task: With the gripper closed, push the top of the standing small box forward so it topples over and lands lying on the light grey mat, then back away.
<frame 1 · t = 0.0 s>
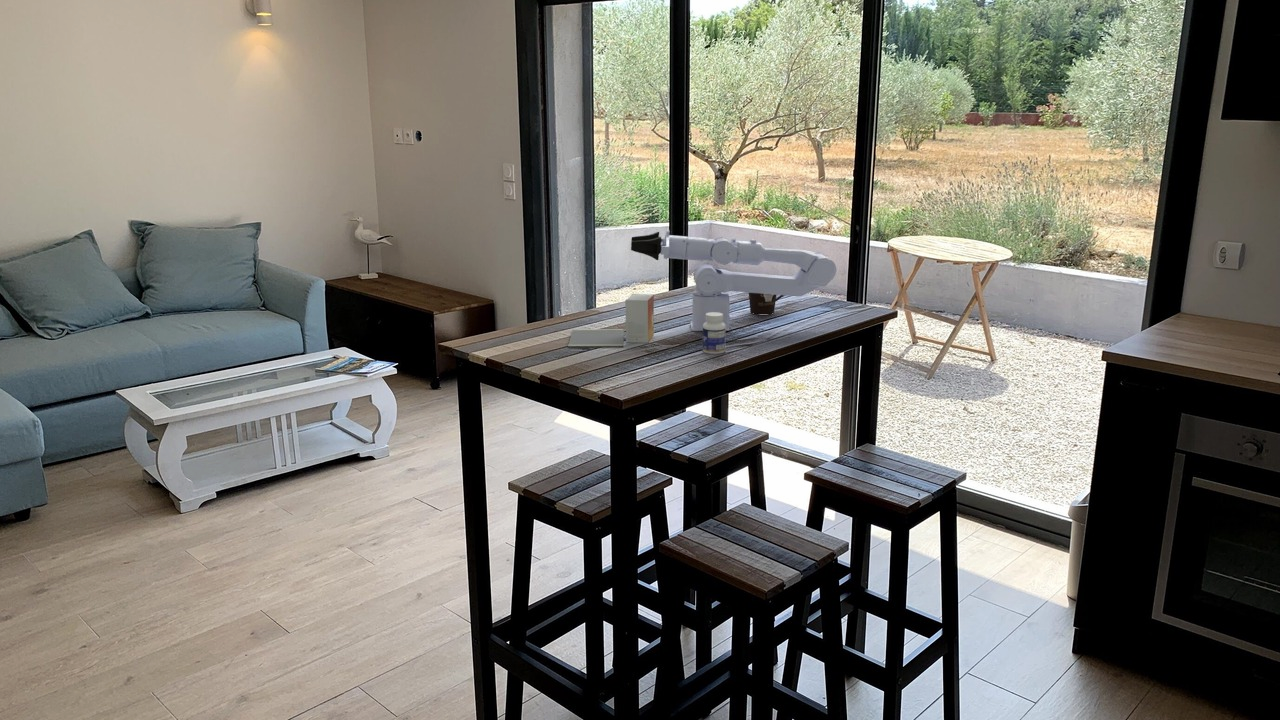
hand: (631, 243, 230), 22 cm above the table, tool horizontal, fingers open, 7 cm apart
pill bottle: (713, 352, 214), on the table
small box: (640, 339, 225), on the table
coffee mug: (767, 313, 252), on the table
mat: (597, 339, 225), on the table
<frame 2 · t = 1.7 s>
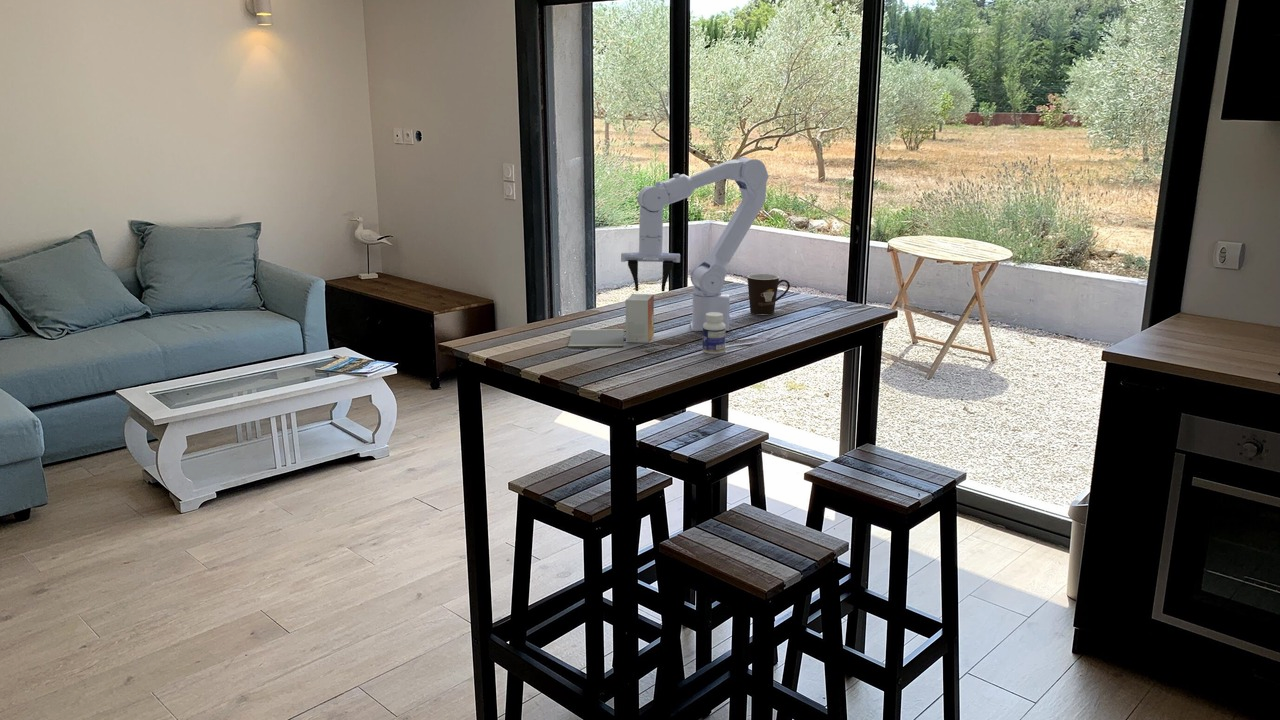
hand: (649, 290, 230), 10 cm above the table, tool pointing down, fingers open, 6 cm apart
nothing on the table moved.
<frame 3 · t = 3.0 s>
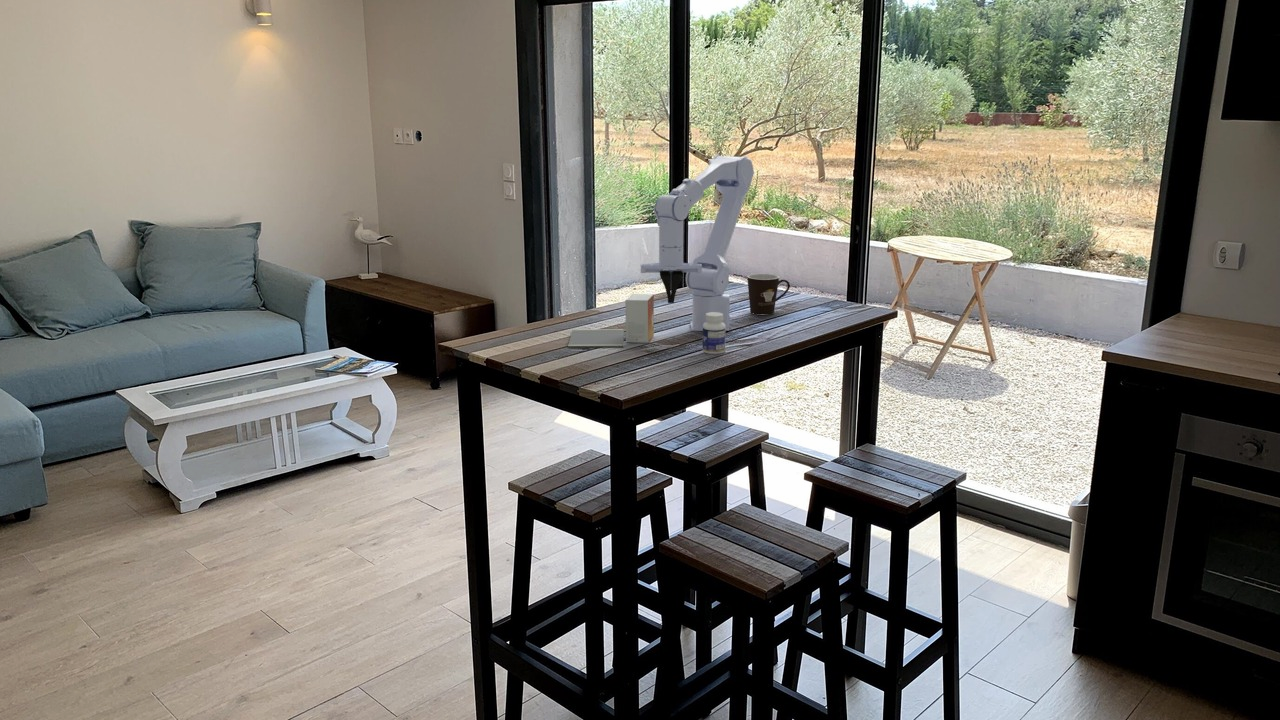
hand: (670, 302, 223), 9 cm above the table, tool pointing down, fingers closed
nothing on the table moved.
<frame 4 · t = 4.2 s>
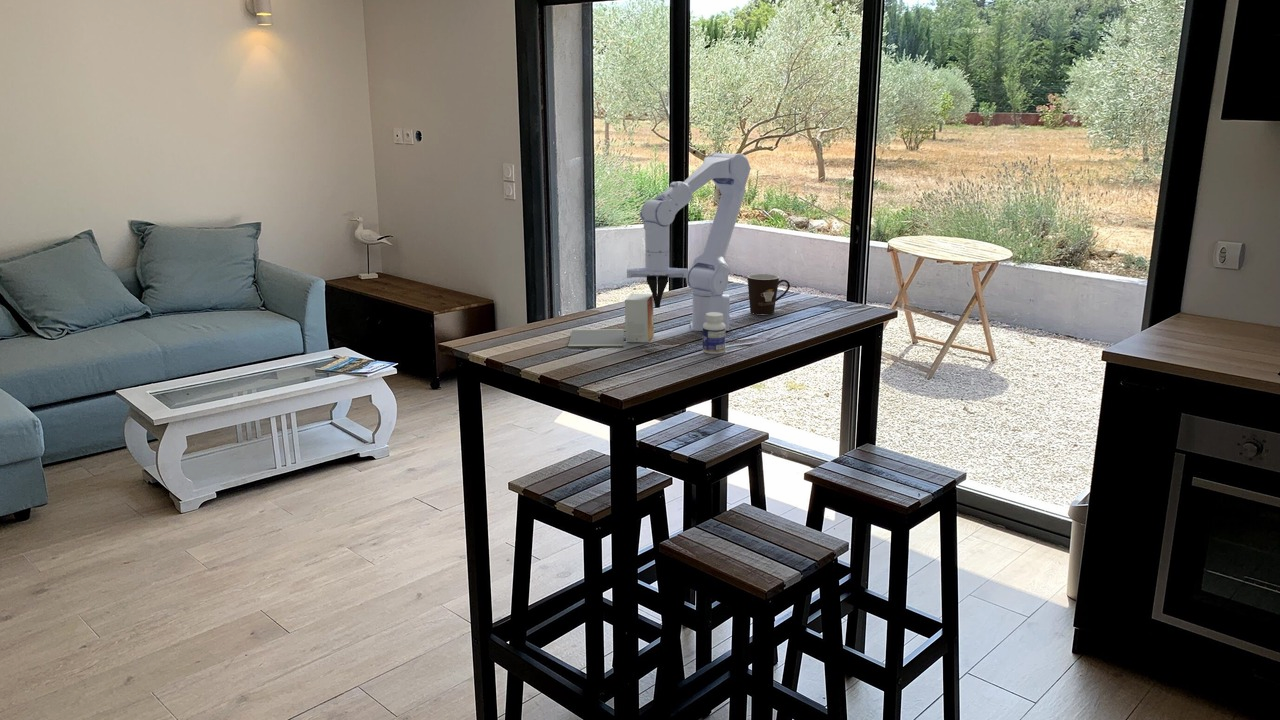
hand: (657, 306, 223), 8 cm above the table, tool pointing down, fingers closed
small box: (640, 339, 225), on the table, touching gripper
everything else where it was.
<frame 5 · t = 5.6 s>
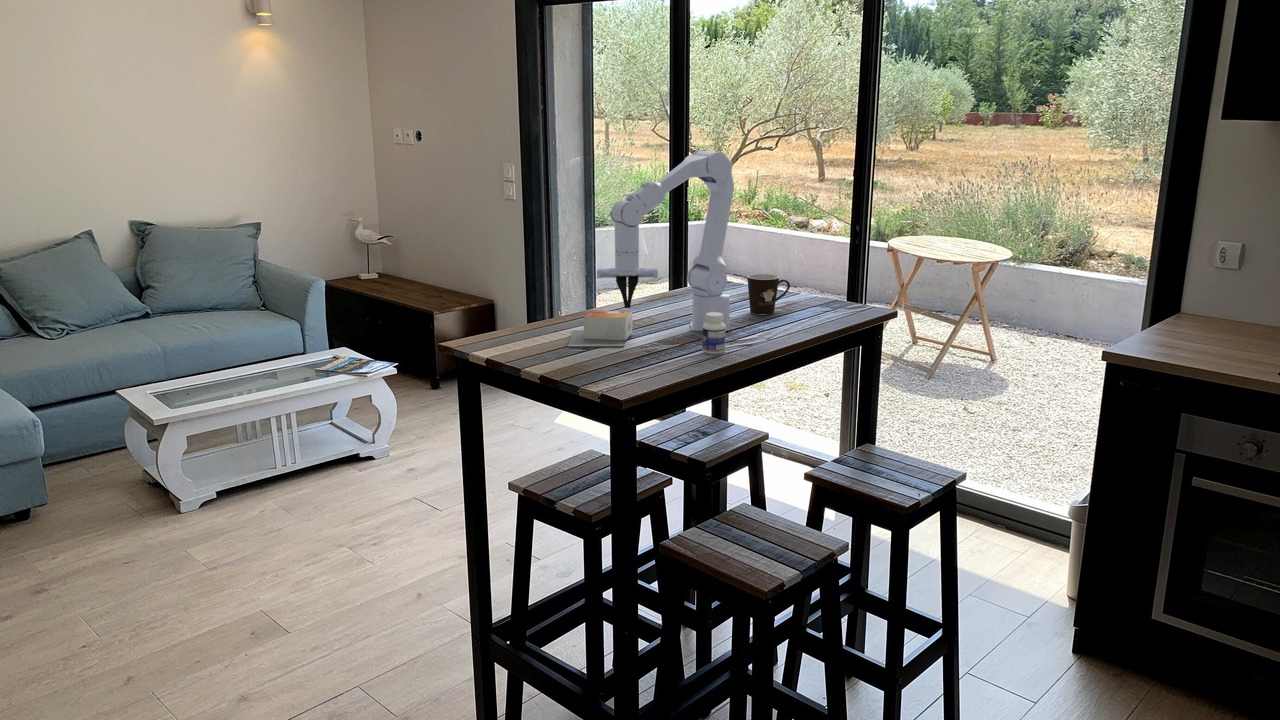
hand: (627, 307, 223), 8 cm above the table, tool pointing down, fingers closed
small box: (630, 325, 225), point 3 cm above the table, touching mat
everything else where it was.
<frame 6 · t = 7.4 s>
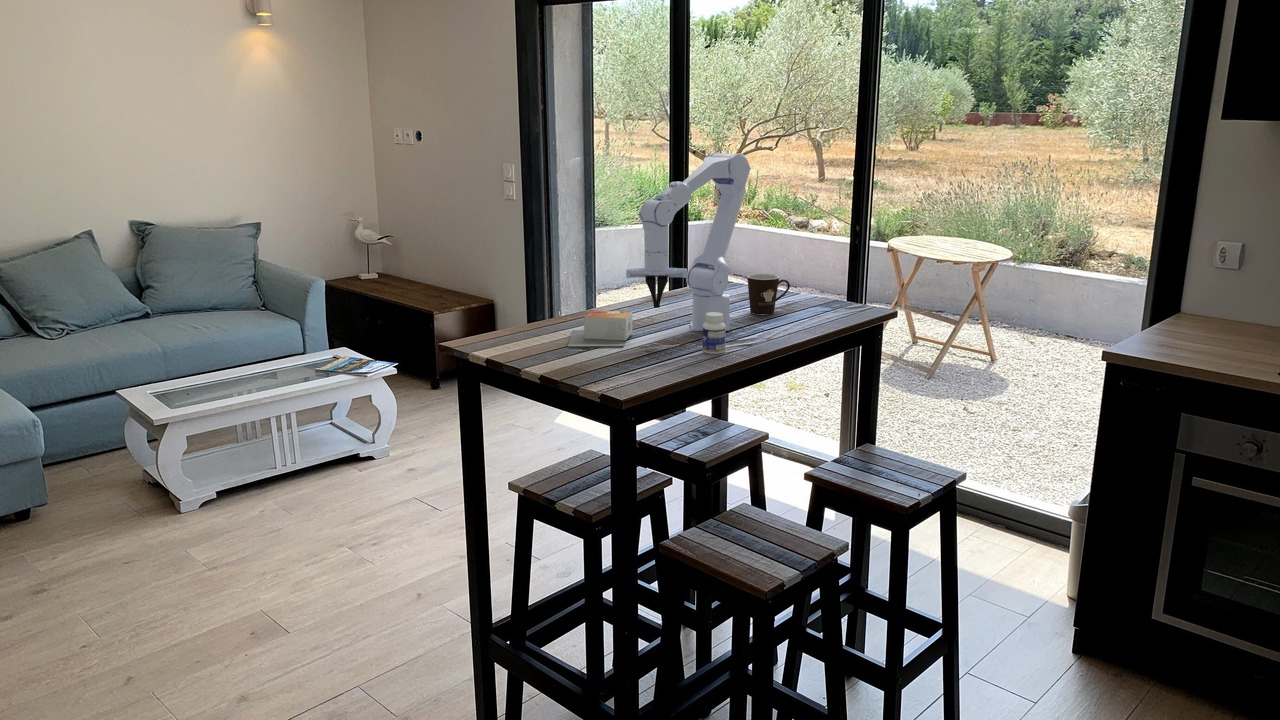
hand: (656, 306, 223), 8 cm above the table, tool pointing down, fingers closed
nothing on the table moved.
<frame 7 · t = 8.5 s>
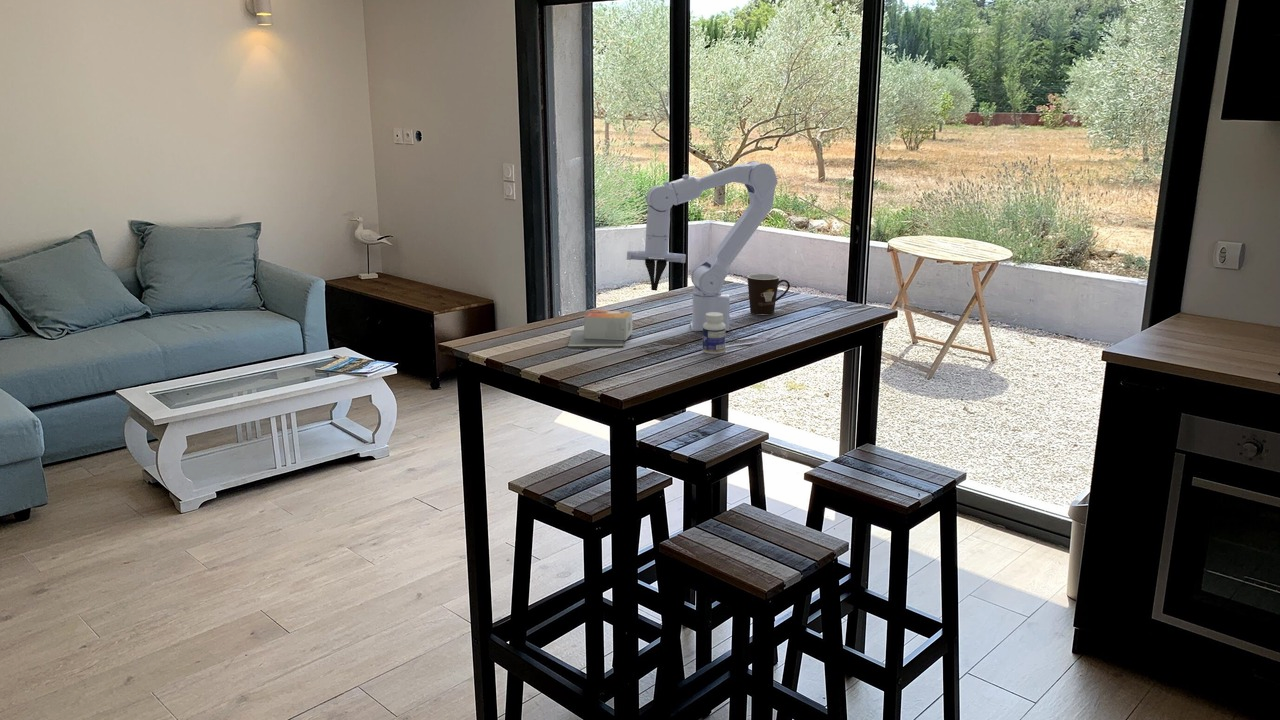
hand: (654, 289, 231), 10 cm above the table, tool pointing down, fingers closed
nothing on the table moved.
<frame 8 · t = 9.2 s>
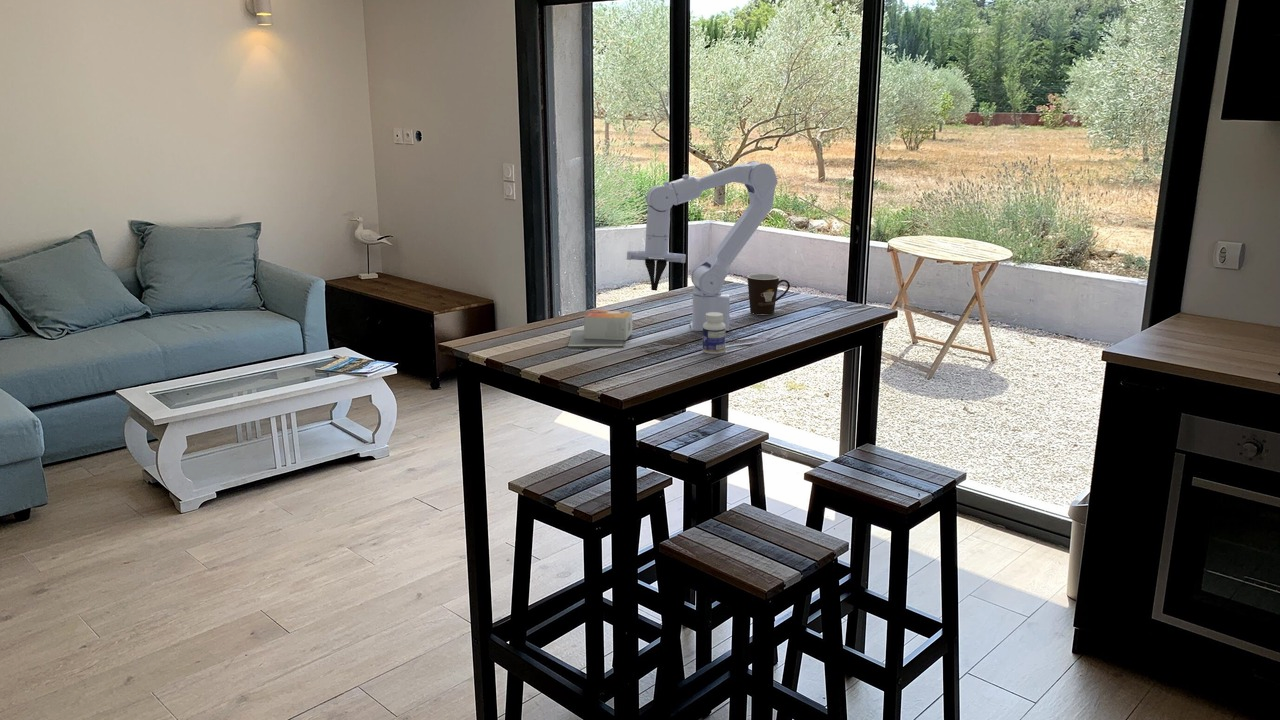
hand: (654, 289, 231), 10 cm above the table, tool pointing down, fingers closed
nothing on the table moved.
at the end: small box tilted 90°; small box inside the target area (5.6 cm from its centre), point 3.1 cm above the table; small box moved 4.0 cm from its start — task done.
